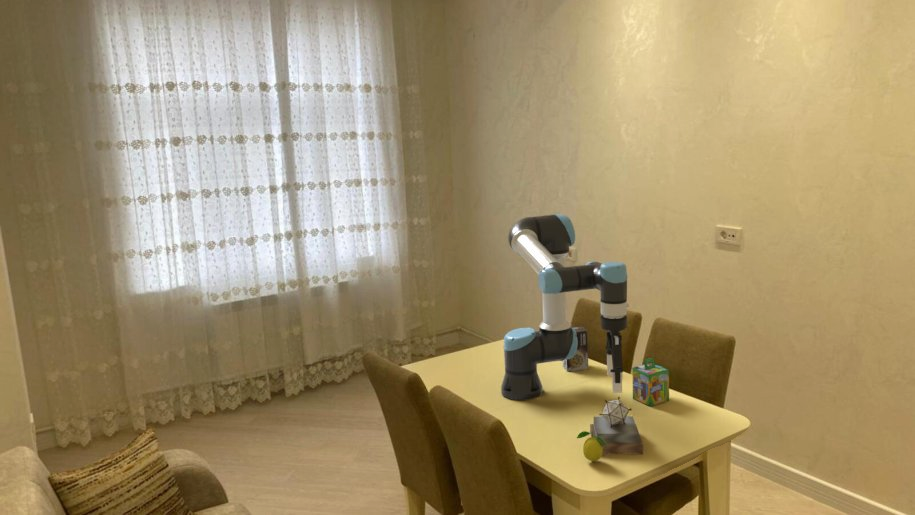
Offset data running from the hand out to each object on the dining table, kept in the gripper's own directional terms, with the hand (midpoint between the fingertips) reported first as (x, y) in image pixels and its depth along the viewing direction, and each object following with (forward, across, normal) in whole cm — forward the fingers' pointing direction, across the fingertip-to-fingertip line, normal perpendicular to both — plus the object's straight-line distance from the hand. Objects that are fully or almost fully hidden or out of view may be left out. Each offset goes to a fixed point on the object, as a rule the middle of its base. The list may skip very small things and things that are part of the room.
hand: (614, 383), depth 200 cm
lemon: (+19, -12, +8) cm, 24 cm away
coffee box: (+20, +66, +8) cm, 69 cm away
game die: (+13, 0, 0) cm, 13 cm away
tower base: (+19, 0, 0) cm, 19 cm away
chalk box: (+20, +32, -16) cm, 41 cm away
